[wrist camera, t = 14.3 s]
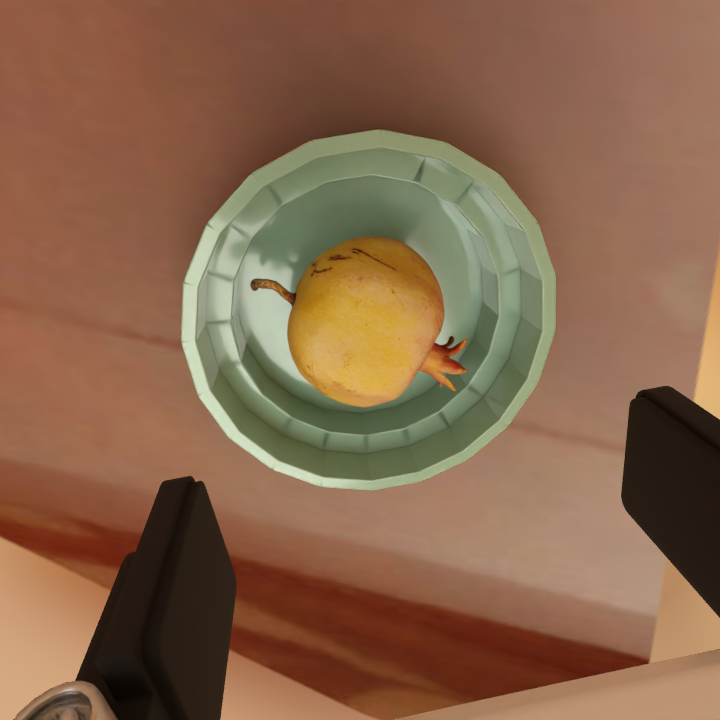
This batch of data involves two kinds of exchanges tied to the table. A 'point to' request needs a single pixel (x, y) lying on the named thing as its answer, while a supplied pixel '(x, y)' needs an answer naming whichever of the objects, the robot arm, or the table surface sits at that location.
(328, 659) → the table surface
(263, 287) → the fruit
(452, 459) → the bowl
